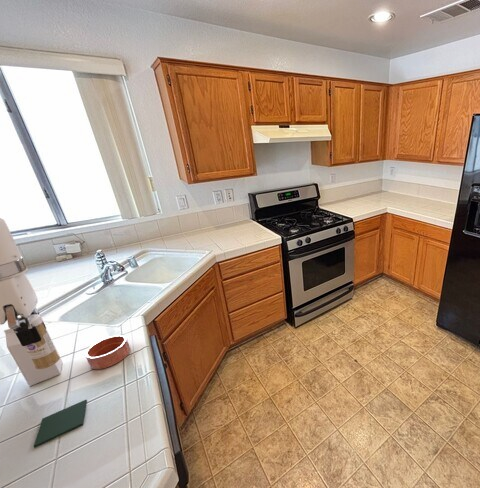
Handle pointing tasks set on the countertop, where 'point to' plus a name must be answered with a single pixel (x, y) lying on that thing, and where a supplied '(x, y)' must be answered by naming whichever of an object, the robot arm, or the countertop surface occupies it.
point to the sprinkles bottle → (41, 346)
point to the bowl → (107, 352)
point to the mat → (61, 423)
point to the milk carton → (29, 361)
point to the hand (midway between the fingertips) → (34, 336)
